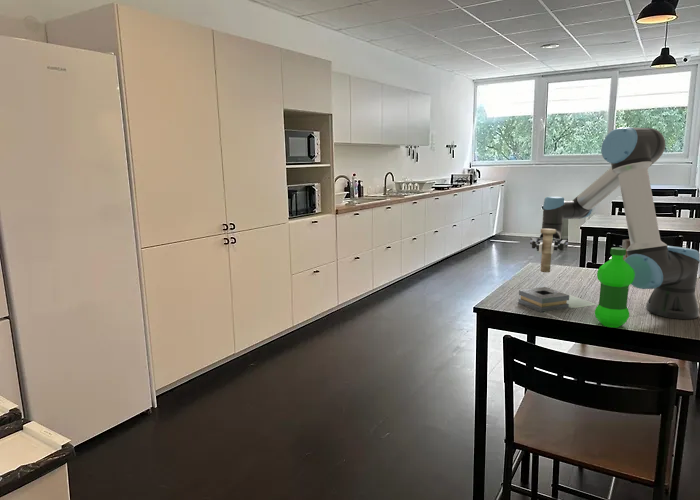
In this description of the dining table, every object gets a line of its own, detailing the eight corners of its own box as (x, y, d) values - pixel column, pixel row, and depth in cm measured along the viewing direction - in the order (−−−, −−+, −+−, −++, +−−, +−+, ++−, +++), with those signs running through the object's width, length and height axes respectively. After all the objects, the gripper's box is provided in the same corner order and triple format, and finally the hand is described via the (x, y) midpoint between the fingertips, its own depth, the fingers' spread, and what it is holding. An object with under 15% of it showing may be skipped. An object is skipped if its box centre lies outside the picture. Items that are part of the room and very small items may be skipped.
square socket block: (568, 308, 172) (569, 295, 171) (541, 312, 168) (542, 298, 167) (544, 299, 183) (545, 286, 182) (518, 303, 179) (519, 290, 178)
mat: (598, 305, 176) (598, 304, 176) (572, 309, 172) (572, 308, 172) (569, 295, 189) (569, 294, 189) (544, 298, 185) (544, 297, 185)
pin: (555, 272, 172) (559, 230, 169) (544, 273, 170) (547, 230, 168) (545, 269, 177) (548, 228, 174) (534, 270, 175) (537, 228, 172)
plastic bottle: (617, 319, 161) (625, 245, 156) (635, 330, 150) (644, 251, 146) (587, 319, 161) (594, 245, 156) (602, 330, 151) (610, 251, 146)
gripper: (571, 250, 185) (570, 262, 164) (527, 247, 192) (520, 258, 171) (573, 230, 184) (572, 240, 163) (528, 228, 190) (522, 237, 170)
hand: (546, 249), depth 167 cm, fingers closed on pin, 3 cm apart
